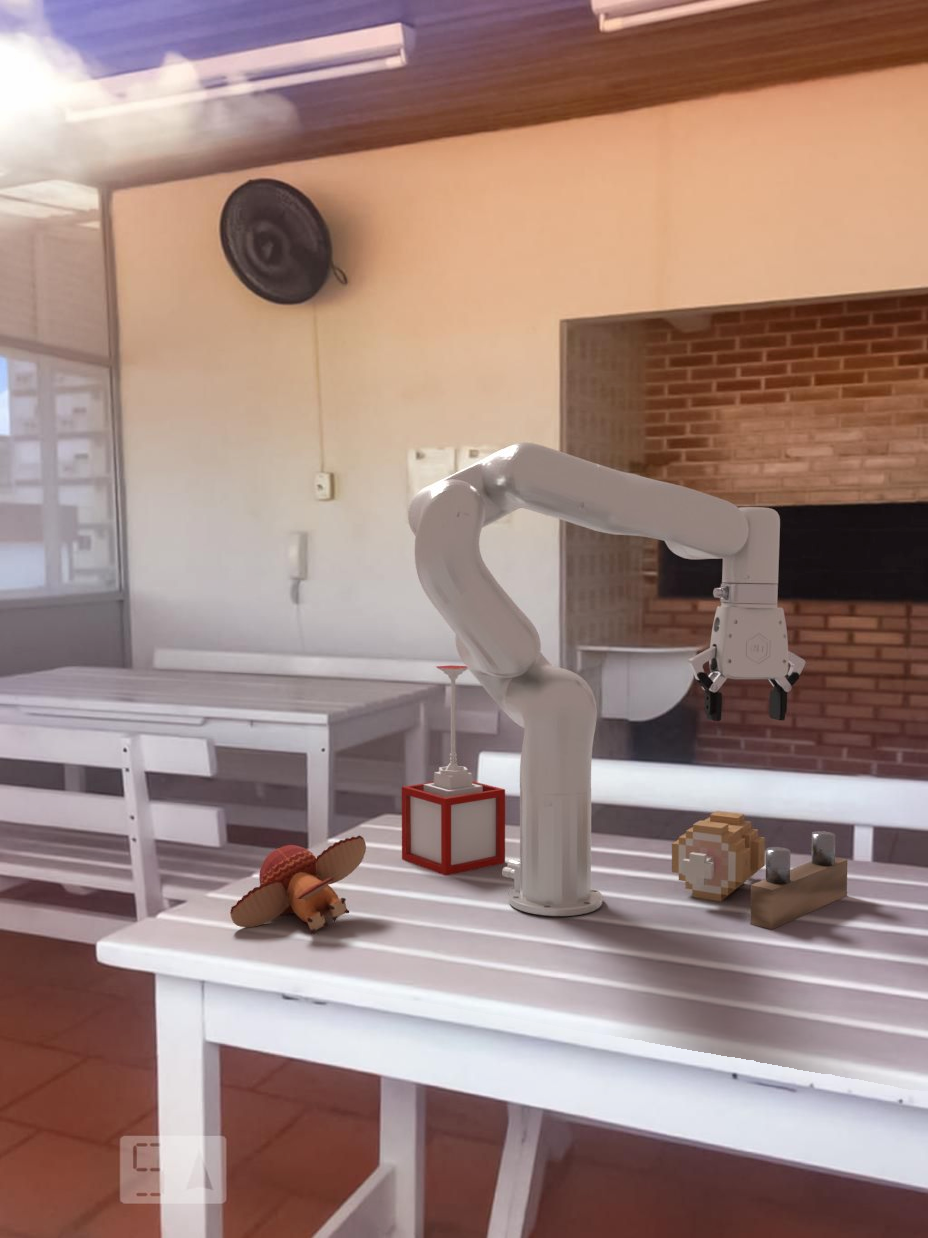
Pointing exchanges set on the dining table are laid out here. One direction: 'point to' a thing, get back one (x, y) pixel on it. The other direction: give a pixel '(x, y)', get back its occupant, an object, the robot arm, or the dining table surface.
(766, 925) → the rail
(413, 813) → the pendant light
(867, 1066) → the dining table surface
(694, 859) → the voxel meat on bone
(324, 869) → the figurine
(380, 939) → the dining table surface
